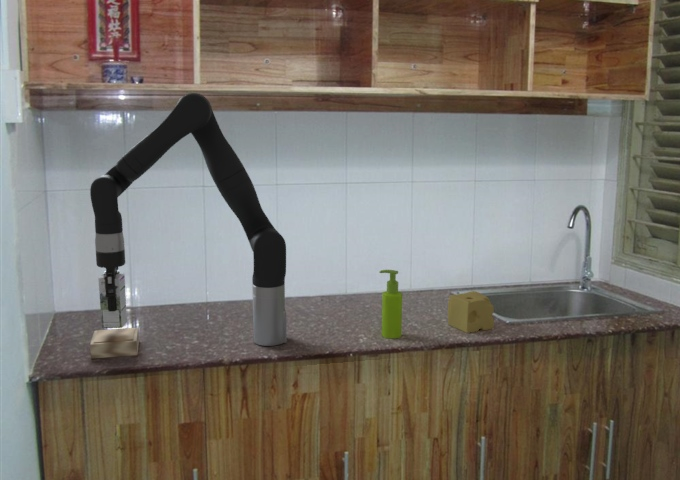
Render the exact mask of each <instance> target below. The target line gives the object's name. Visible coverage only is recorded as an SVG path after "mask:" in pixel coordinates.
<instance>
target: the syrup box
mask: <svg viewBox="0 0 680 480" xmlns="http://www.w3.org/2000/svg"><path fill="white" fill-rule="evenodd" d="M115 285H116V286H118V288H117V289H116V295H117V296H116V303H117V310H116V311H108V299H107V298H106V290H105V280H104V273H102V274H100V276H98V291H99V305H100V309H99V310H100V321H101V322H100V323H101V329H123V328H124V326H125V325H126V324H127V323H128V315H127V314H128V313H127V312H128V311H127V298H126V297H127V295H126V278H125V273H124V272H123V273H122V272H120V274H119V277H115ZM109 293H113V289H111V290H109Z"/></svg>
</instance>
